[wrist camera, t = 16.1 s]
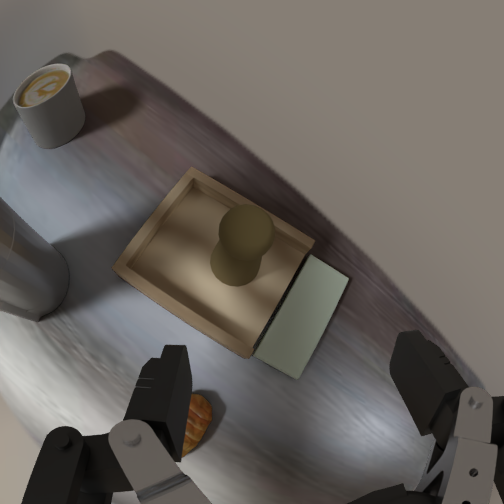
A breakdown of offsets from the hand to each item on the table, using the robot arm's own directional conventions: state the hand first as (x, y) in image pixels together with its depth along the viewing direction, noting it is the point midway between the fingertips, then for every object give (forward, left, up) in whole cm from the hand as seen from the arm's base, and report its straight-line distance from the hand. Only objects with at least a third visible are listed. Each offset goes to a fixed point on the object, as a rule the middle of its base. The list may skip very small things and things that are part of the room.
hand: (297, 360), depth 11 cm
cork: (+10, +5, -25) cm, 27 cm away
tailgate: (+9, -2, -25) cm, 26 cm away
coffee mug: (+14, +45, -26) cm, 53 cm away
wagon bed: (+9, +8, -26) cm, 28 cm away
